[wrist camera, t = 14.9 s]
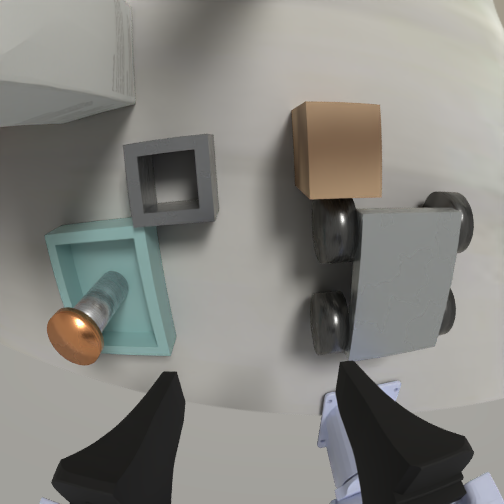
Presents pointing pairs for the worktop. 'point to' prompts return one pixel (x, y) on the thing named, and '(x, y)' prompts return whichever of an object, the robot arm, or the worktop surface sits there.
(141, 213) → the bracket
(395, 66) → the worktop surface
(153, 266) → the tray
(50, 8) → the skincare box
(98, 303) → the pin
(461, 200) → the trolley
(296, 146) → the block
